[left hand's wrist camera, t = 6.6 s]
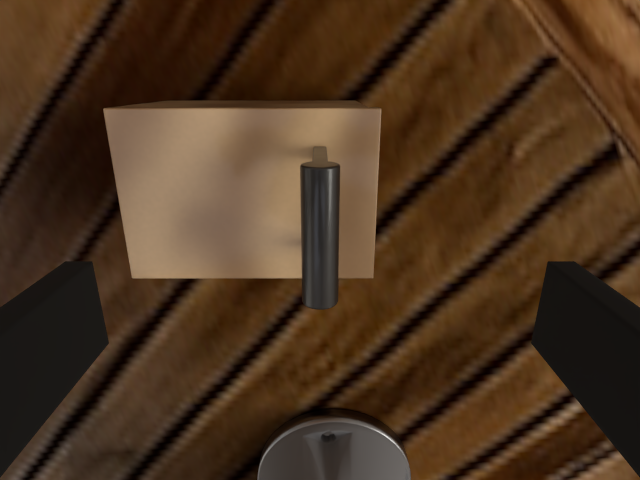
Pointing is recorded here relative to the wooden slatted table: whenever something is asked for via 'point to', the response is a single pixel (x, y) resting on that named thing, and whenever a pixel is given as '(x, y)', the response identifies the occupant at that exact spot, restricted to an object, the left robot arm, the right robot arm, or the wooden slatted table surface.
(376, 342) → the wooden slatted table surface
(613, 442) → the left robot arm
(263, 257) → the lid
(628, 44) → the wooden slatted table surface
